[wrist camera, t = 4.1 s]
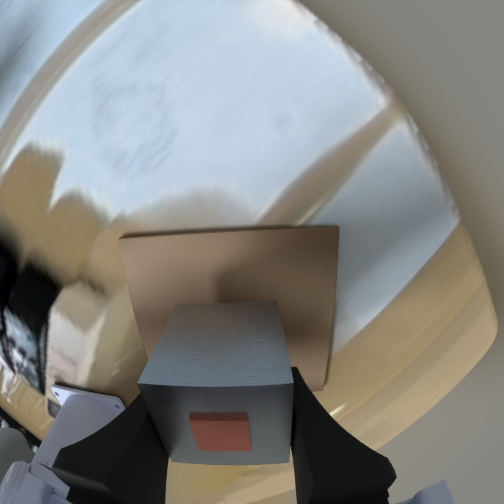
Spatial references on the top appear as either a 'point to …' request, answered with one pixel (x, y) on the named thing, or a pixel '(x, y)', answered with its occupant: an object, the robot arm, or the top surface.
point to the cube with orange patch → (221, 385)
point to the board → (240, 282)
